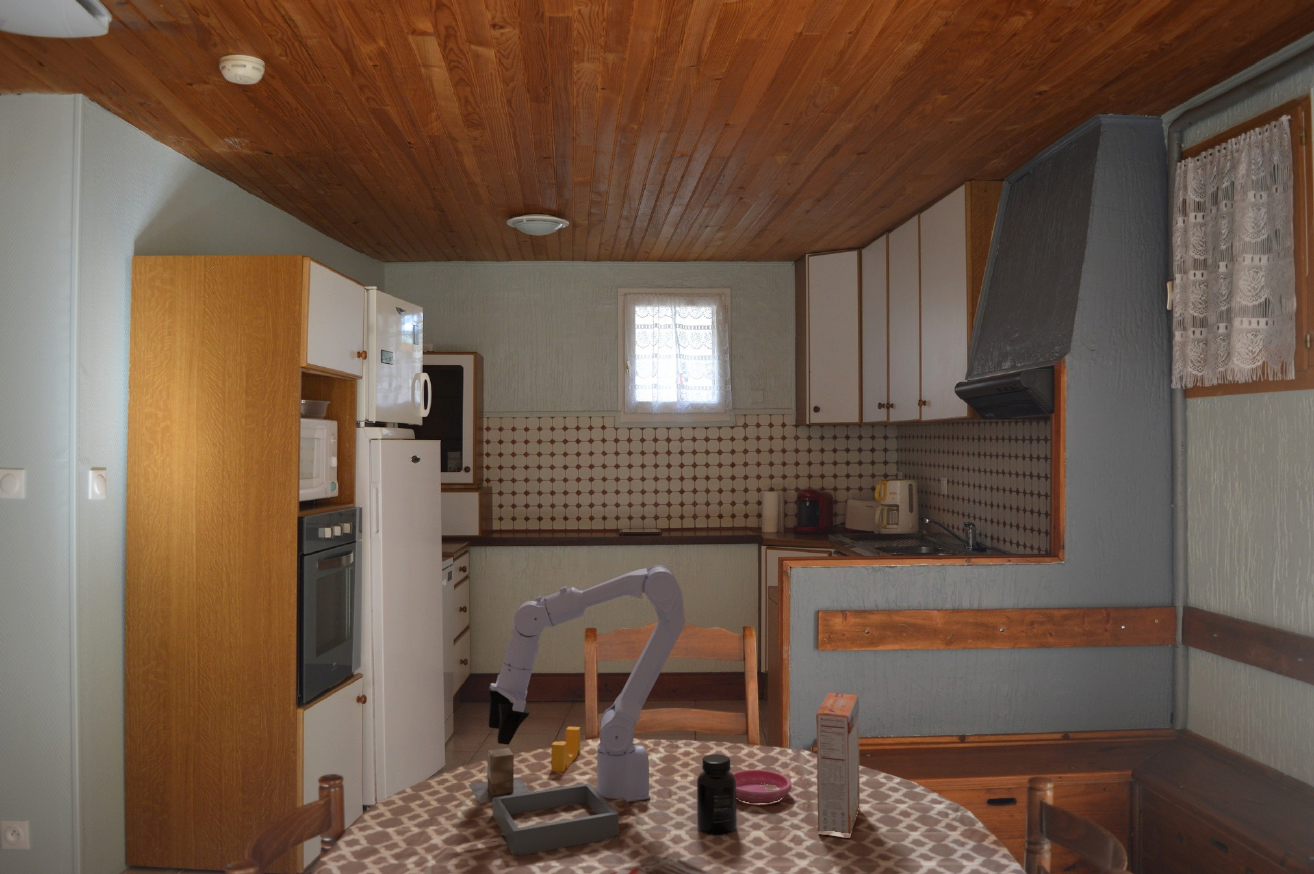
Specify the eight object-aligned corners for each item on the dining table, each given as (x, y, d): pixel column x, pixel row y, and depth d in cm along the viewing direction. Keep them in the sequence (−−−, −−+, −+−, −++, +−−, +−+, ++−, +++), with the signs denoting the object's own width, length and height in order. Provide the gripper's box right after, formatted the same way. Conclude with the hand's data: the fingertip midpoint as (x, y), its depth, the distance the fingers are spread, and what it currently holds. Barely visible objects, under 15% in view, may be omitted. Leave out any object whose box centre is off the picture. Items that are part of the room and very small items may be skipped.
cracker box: (827, 804, 163) (827, 690, 164) (860, 809, 161) (860, 694, 162) (814, 835, 150) (814, 711, 151) (850, 840, 148) (850, 715, 149)
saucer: (728, 782, 175) (728, 766, 175) (791, 786, 173) (791, 770, 173) (722, 807, 163) (722, 789, 163) (791, 811, 161) (791, 794, 161)
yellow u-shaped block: (560, 756, 190) (560, 725, 190) (580, 757, 189) (580, 727, 189) (543, 776, 178) (543, 743, 178) (563, 777, 177) (563, 745, 177)
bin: (589, 804, 163) (589, 783, 163) (618, 837, 149) (618, 813, 149) (492, 820, 156) (492, 797, 156) (513, 856, 142) (513, 831, 142)
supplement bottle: (740, 823, 155) (740, 754, 155) (731, 839, 149) (731, 767, 149) (703, 817, 157) (703, 749, 158) (691, 833, 151) (692, 762, 151)
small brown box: (508, 784, 170) (508, 747, 170) (513, 791, 166) (513, 754, 166) (486, 787, 168) (486, 750, 168) (491, 795, 165) (491, 757, 165)
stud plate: (519, 782, 174) (519, 767, 174) (533, 800, 165) (533, 785, 165) (468, 789, 170) (468, 774, 170) (479, 808, 161) (479, 793, 161)
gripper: (489, 650, 172) (470, 718, 171) (506, 674, 158) (486, 748, 158) (523, 655, 174) (505, 722, 174) (543, 679, 161) (523, 752, 161)
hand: (498, 735), depth 166 cm, fingers open, 7 cm apart
